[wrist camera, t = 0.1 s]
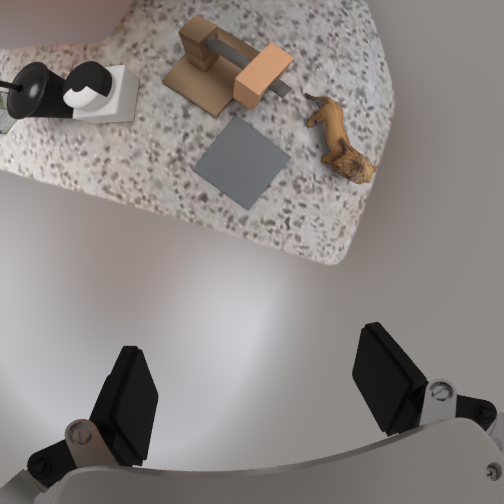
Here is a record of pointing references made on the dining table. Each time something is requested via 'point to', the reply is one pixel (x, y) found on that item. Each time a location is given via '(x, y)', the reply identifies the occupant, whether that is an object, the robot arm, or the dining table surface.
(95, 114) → the medicine bottle
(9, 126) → the syrup box
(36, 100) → the drinking cup
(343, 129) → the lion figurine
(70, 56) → the dining table surface
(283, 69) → the c link
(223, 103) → the stand
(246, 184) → the slate mat
